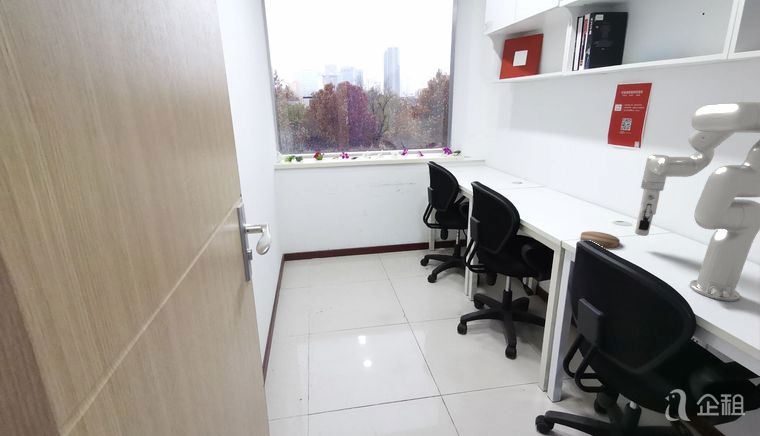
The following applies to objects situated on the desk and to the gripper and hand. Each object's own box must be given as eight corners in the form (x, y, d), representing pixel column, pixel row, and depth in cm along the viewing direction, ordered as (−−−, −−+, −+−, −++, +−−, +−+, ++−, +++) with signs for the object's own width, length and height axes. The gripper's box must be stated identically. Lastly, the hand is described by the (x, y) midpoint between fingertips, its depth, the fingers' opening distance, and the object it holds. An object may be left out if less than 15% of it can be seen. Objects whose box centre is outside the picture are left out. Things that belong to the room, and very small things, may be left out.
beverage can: (644, 232, 159) (650, 205, 155) (650, 236, 154) (657, 208, 151) (632, 232, 159) (638, 205, 156) (638, 235, 155) (644, 208, 151)
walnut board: (618, 250, 155) (619, 246, 155) (578, 242, 163) (579, 238, 162) (619, 239, 167) (620, 235, 167) (581, 233, 175) (582, 229, 174)
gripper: (665, 190, 142) (655, 235, 147) (662, 183, 156) (652, 224, 161) (642, 187, 146) (632, 231, 151) (640, 181, 160) (631, 221, 165)
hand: (642, 227), depth 156 cm, fingers closed on beverage can, 4 cm apart
